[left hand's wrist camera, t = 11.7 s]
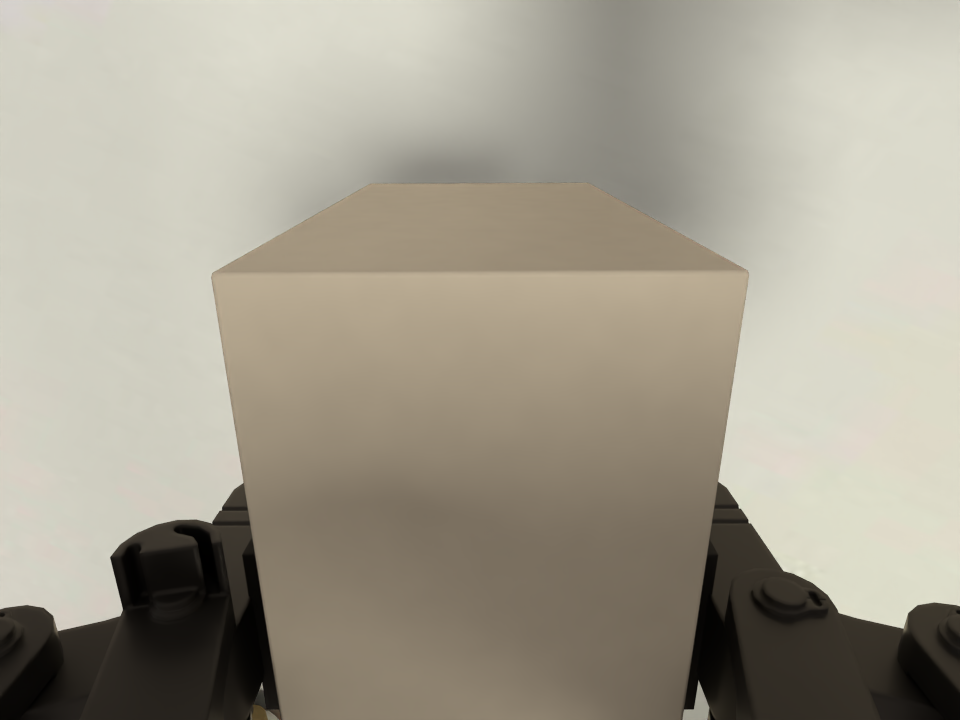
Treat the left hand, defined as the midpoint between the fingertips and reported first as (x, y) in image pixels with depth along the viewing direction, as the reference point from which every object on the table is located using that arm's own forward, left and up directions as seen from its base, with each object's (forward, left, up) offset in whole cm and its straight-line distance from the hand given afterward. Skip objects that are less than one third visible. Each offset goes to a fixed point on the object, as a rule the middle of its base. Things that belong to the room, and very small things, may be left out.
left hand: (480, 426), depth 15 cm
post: (+7, +22, -1) cm, 23 cm away
